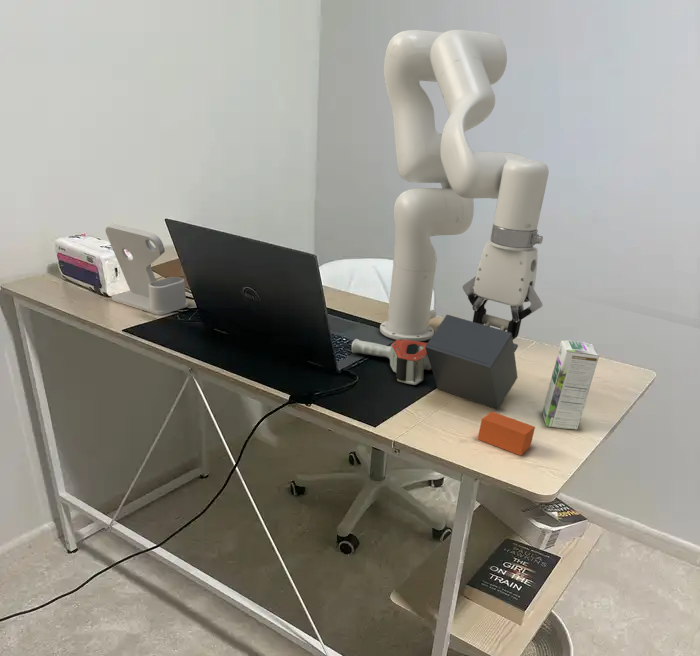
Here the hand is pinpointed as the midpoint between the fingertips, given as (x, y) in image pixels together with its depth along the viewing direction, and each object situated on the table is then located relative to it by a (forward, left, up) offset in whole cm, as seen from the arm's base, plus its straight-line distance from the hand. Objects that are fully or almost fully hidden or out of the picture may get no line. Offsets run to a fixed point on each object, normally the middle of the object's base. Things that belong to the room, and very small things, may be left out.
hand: (493, 334), depth 125 cm
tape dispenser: (+3, -18, -11) cm, 22 cm away
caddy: (+11, 0, -6) cm, 12 cm away
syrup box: (+3, +17, -11) cm, 21 cm away
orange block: (+18, +13, -11) cm, 25 cm away
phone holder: (+15, -83, -11) cm, 85 cm away
